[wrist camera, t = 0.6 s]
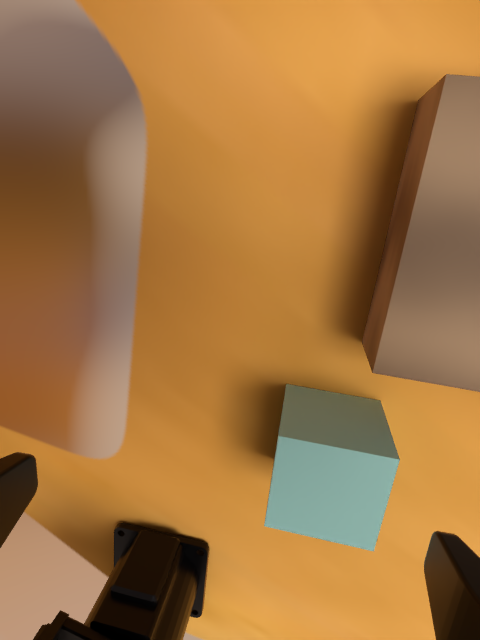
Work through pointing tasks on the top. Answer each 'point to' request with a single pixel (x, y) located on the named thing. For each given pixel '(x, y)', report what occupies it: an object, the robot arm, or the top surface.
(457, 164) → the walnut block
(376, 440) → the teal cube
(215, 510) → the top surface
